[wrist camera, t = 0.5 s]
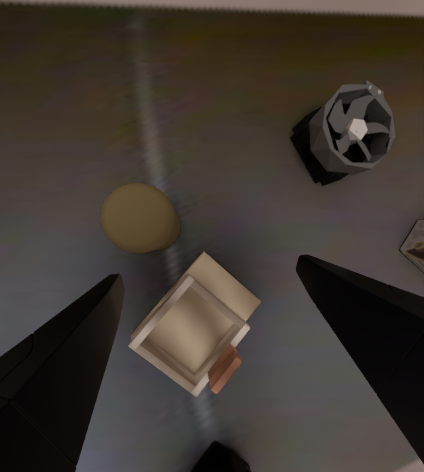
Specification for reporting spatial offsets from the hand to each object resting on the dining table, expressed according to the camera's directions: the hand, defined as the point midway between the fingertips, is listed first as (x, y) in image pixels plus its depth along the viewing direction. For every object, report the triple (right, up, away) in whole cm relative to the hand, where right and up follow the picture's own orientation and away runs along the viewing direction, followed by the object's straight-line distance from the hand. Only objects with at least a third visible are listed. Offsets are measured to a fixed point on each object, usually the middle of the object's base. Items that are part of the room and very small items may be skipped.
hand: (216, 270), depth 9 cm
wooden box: (-2, -8, +15) cm, 17 cm away
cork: (-7, +3, +14) cm, 16 cm away
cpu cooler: (+16, +15, +18) cm, 29 cm away
